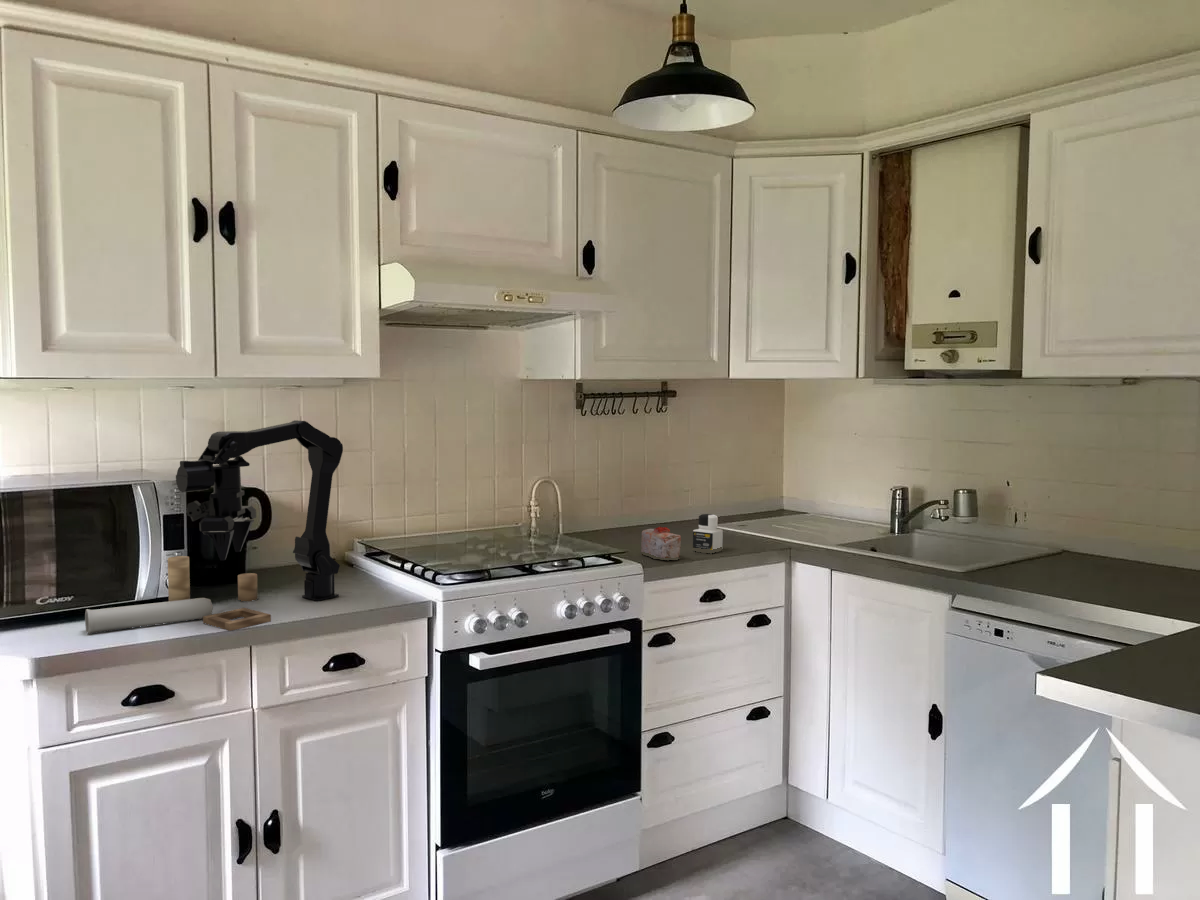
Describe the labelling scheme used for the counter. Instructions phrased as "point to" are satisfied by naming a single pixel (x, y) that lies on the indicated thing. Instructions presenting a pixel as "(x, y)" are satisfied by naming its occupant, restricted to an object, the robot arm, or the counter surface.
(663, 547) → the food item
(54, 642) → the counter surface
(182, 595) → the oak dowel
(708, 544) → the medicine bottle
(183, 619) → the tube
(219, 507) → the robot arm
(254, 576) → the walnut stub
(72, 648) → the counter surface
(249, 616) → the hole plate
